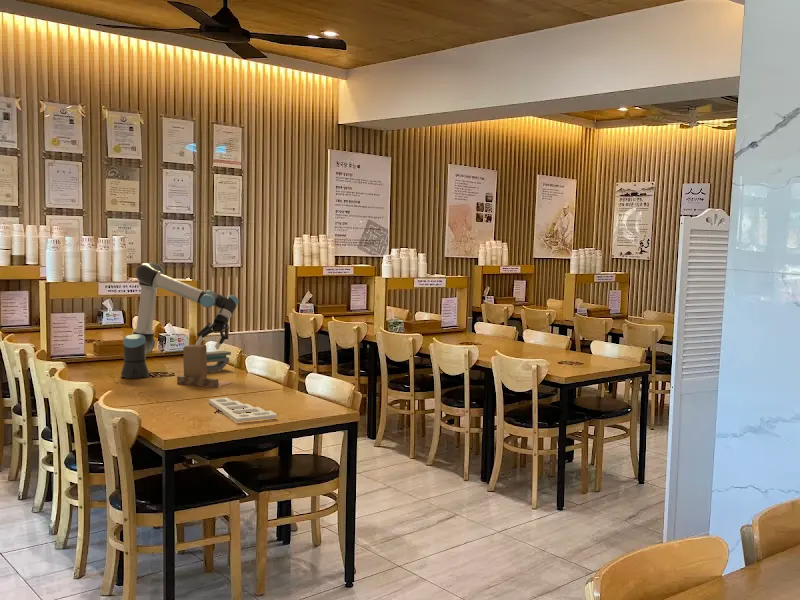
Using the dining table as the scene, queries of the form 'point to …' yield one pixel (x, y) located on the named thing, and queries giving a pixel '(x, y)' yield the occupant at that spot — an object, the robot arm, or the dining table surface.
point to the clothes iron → (217, 360)
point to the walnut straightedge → (197, 381)
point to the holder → (241, 410)
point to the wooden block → (195, 361)
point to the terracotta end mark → (223, 383)
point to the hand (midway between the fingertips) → (206, 347)
